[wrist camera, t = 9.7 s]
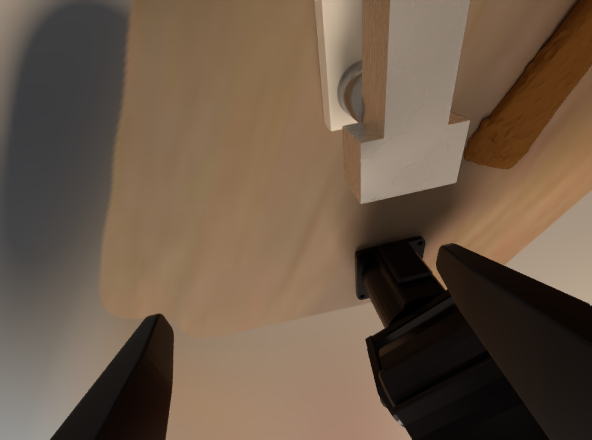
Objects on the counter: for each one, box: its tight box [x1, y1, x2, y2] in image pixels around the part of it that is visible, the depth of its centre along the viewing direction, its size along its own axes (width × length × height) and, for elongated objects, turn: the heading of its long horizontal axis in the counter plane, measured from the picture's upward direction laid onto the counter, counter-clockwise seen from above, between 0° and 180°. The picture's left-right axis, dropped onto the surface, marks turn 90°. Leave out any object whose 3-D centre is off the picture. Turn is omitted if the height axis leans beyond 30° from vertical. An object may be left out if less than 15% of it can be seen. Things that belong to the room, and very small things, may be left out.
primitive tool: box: [464, 0, 592, 169], centre depth 17 cm, size 19×6×4 cm, turn 166°
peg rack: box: [314, 0, 362, 131], centre depth 13 cm, size 12×4×5 cm, turn 8°
